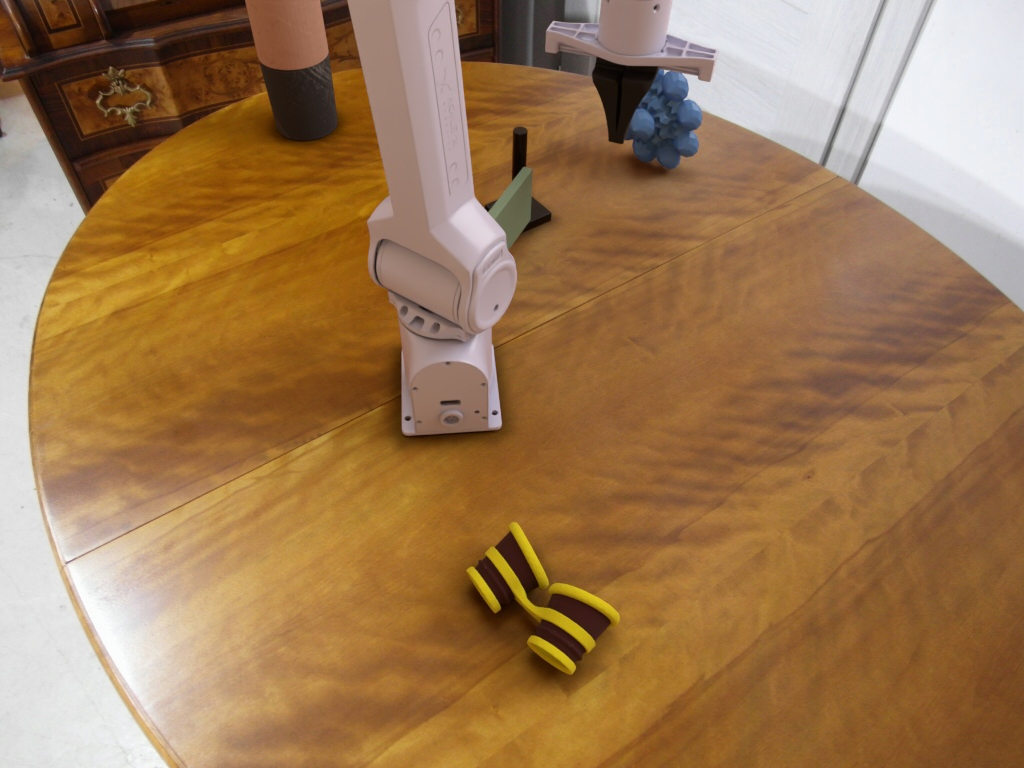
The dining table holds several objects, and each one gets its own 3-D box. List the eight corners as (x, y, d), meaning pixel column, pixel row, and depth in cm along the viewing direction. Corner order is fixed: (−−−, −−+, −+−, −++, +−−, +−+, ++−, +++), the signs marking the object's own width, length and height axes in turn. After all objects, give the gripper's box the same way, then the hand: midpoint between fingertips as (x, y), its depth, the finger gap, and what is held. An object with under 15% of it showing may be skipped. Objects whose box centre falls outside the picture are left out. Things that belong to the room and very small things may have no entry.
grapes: (581, 160, 88) (591, 58, 79) (612, 135, 92) (625, 34, 83) (672, 197, 84) (694, 93, 75) (701, 169, 87) (724, 66, 78)
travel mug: (319, 101, 95) (286, -79, 80) (352, 127, 92) (324, -56, 77) (263, 121, 92) (218, -62, 77) (294, 149, 88) (254, -38, 73)
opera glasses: (466, 589, 54) (453, 565, 50) (518, 536, 56) (510, 508, 52) (568, 689, 50) (563, 672, 46) (622, 628, 51) (622, 606, 47)
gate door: (509, 213, 79) (510, 162, 75) (530, 219, 79) (533, 168, 74) (456, 284, 72) (453, 232, 68) (479, 291, 71) (478, 240, 67)
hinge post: (484, 212, 81) (483, 126, 74) (522, 196, 83) (525, 110, 76) (512, 237, 79) (514, 150, 71) (551, 220, 81) (557, 134, 73)
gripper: (737, -20, 63) (703, 131, 73) (566, -47, 66) (556, 102, 76) (723, 15, 58) (688, 171, 69) (540, -15, 61) (533, 138, 72)
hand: (618, 137), depth 72 cm, fingers closed
